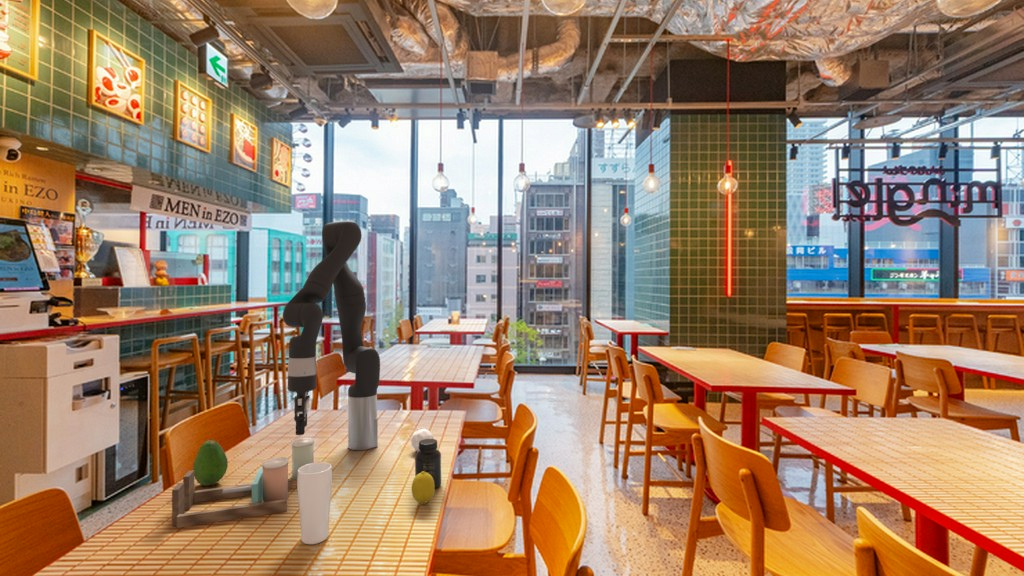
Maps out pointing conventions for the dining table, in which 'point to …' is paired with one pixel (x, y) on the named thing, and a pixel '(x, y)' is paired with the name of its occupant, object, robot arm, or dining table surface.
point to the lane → (186, 497)
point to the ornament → (420, 437)
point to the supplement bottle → (429, 460)
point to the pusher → (252, 488)
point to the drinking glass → (314, 501)
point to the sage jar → (301, 454)
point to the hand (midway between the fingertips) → (301, 430)
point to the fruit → (210, 463)
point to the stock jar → (275, 479)
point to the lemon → (423, 487)
